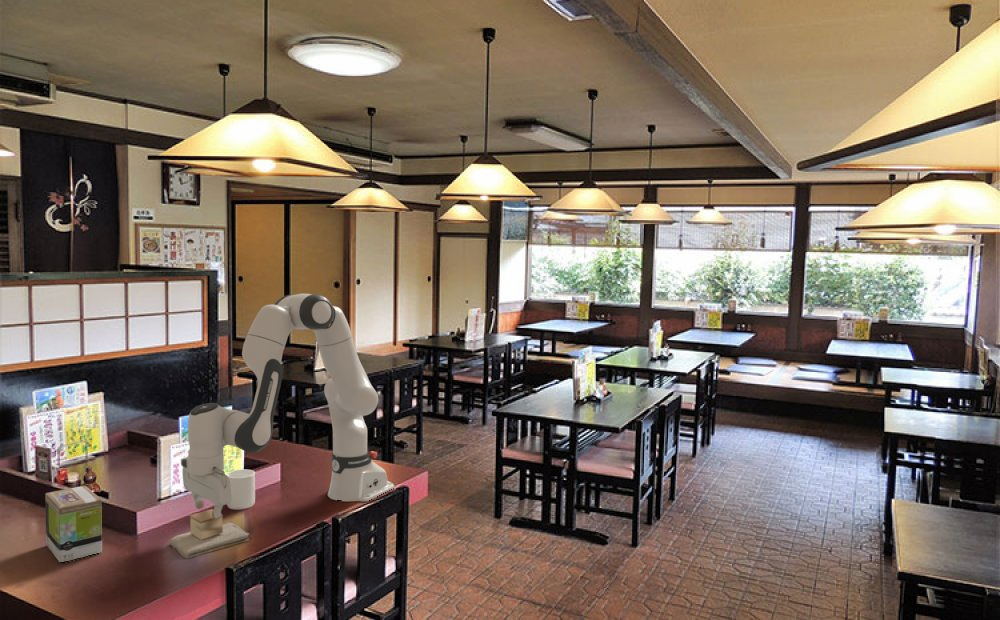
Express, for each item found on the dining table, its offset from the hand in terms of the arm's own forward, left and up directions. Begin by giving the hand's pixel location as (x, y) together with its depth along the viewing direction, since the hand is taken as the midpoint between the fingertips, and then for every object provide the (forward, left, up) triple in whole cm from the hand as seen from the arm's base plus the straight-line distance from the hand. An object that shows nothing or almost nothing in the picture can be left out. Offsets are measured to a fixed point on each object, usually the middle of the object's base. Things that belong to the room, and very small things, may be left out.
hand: (207, 512), depth 187 cm
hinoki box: (+1, 0, -6) cm, 6 cm away
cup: (-18, -17, -8) cm, 26 cm away
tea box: (+26, -20, -8) cm, 34 cm away
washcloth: (0, +1, -9) cm, 9 cm away
